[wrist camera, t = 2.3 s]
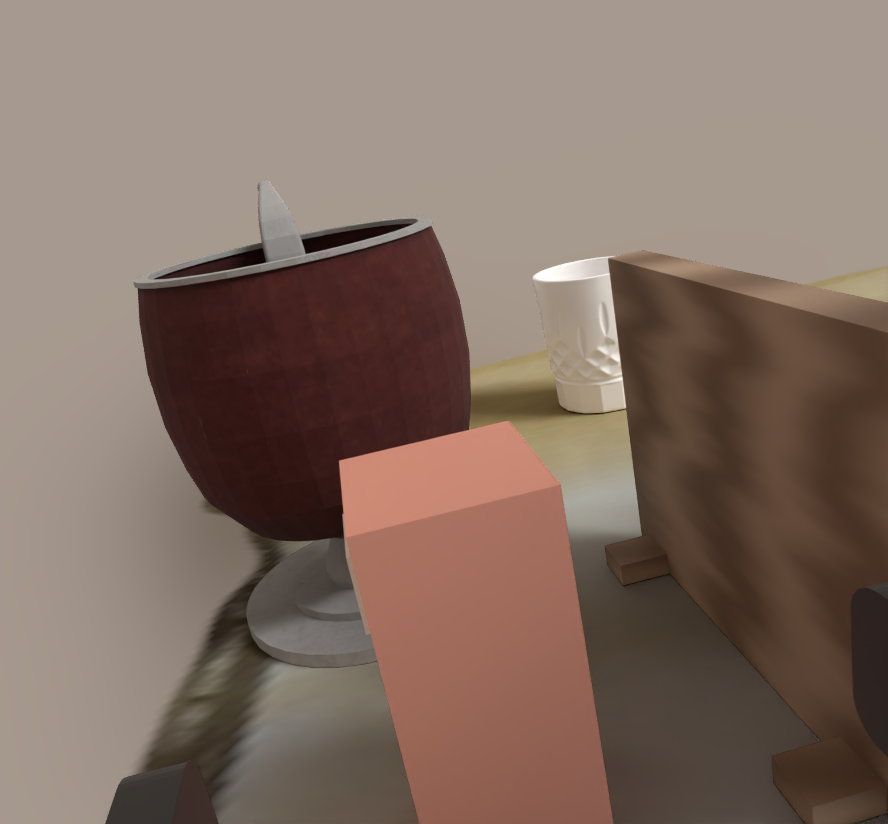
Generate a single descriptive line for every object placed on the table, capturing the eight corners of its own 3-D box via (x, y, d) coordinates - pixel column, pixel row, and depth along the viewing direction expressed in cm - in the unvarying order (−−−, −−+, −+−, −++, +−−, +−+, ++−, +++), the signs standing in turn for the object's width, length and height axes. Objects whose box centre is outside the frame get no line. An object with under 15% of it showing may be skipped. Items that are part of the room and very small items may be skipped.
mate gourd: (552, 617, 33) (470, 134, 27) (230, 720, 31) (60, 215, 25) (459, 490, 48) (391, 155, 42) (234, 553, 46) (127, 207, 39)
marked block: (566, 750, 26) (508, 420, 22) (621, 876, 21) (560, 484, 18) (416, 793, 26) (332, 462, 22) (439, 931, 21) (336, 539, 17)
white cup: (665, 378, 60) (652, 250, 57) (647, 415, 54) (631, 273, 51) (567, 383, 64) (549, 263, 61) (539, 419, 57) (517, 286, 54)
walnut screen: (599, 554, 38) (558, 268, 33) (716, 524, 38) (690, 239, 34) (836, 865, 21) (816, 361, 16) (1040, 803, 21) (1072, 300, 17)
